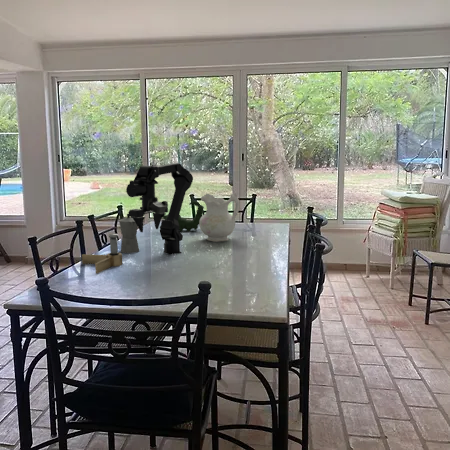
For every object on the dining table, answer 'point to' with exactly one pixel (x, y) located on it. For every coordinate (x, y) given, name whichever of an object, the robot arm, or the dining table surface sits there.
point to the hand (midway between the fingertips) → (149, 230)
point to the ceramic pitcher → (218, 217)
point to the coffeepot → (128, 235)
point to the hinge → (102, 261)
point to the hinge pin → (113, 244)
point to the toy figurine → (190, 223)
